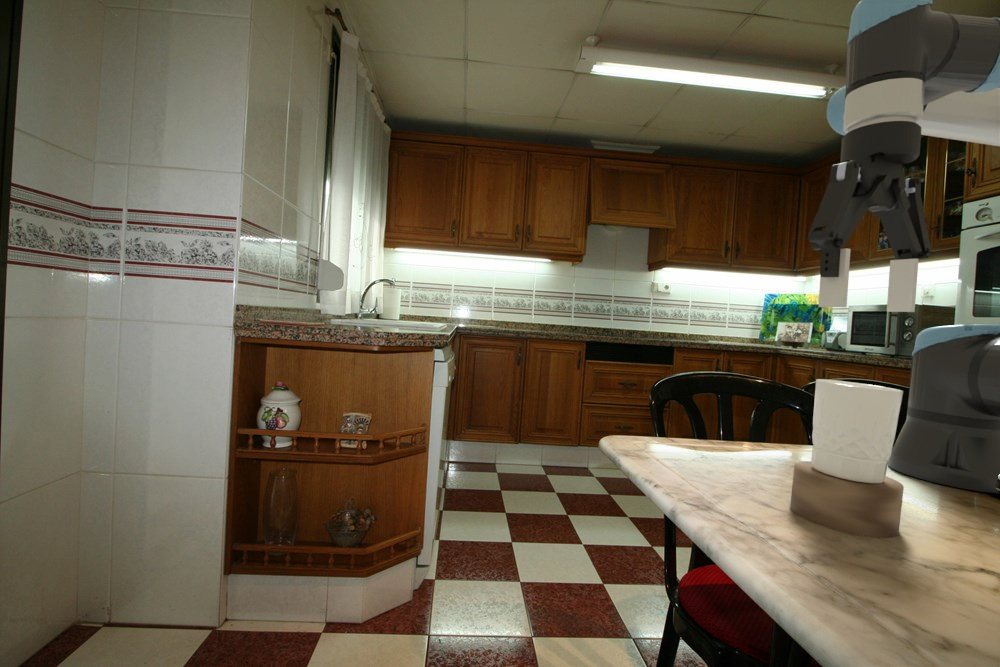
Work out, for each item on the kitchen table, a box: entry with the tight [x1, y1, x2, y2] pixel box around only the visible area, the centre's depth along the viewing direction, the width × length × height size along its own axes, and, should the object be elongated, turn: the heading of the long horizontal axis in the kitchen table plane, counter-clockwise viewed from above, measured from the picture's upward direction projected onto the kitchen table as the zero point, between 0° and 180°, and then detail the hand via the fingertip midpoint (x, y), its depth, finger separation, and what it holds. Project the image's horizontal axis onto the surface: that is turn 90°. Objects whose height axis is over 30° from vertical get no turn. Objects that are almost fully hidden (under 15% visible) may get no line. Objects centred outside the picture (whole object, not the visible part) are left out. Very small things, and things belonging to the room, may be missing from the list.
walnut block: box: [789, 460, 905, 539], centre depth 56 cm, size 10×10×5 cm
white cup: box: [810, 378, 904, 484], centre depth 56 cm, size 8×8×10 cm
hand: (867, 309), depth 60 cm, fingers open, 13 cm apart
